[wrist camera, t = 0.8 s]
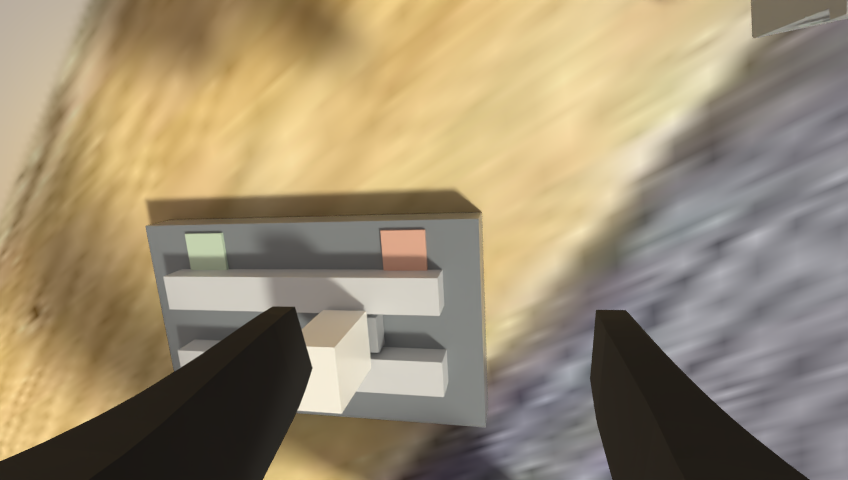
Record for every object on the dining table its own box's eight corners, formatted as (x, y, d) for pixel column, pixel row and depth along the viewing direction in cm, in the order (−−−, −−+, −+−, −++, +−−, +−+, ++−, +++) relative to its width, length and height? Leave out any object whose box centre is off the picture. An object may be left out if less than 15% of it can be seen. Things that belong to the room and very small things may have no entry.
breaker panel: (481, 212, 25) (475, 224, 22) (487, 406, 28) (483, 444, 24) (169, 219, 29) (124, 231, 26) (200, 388, 32) (163, 418, 28)
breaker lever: (381, 299, 25) (340, 347, 19) (385, 352, 26) (348, 414, 20) (330, 298, 26) (277, 345, 20) (336, 350, 26) (286, 409, 21)
